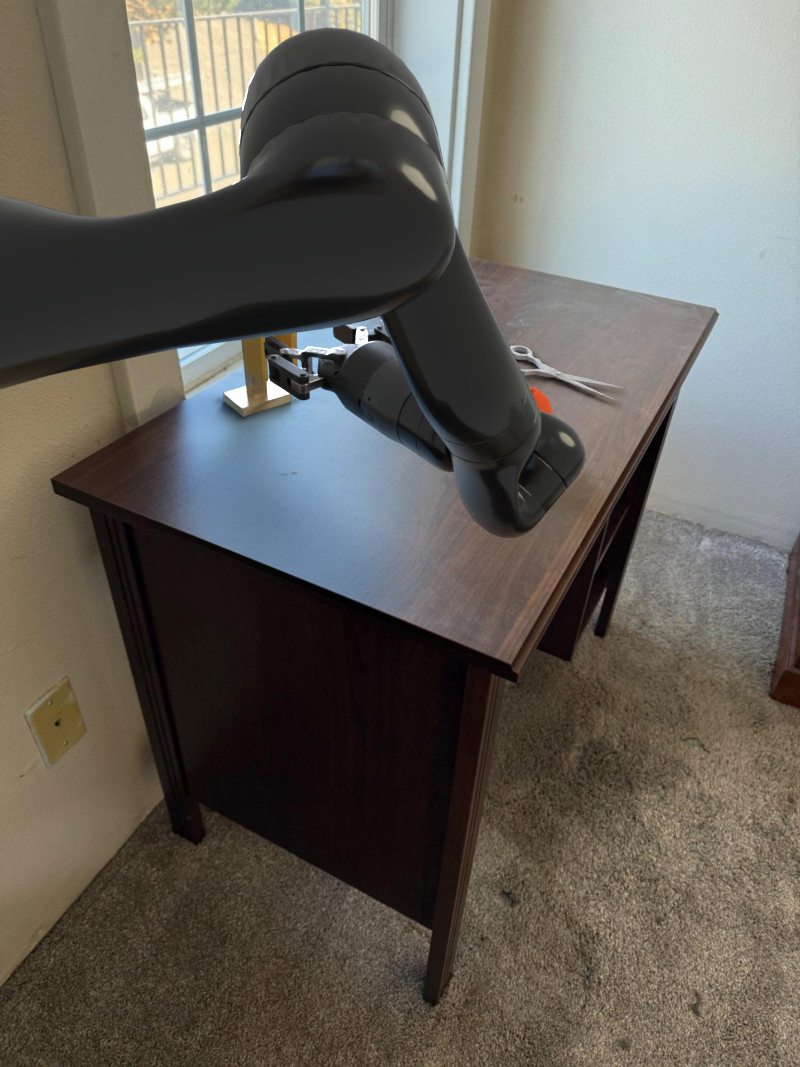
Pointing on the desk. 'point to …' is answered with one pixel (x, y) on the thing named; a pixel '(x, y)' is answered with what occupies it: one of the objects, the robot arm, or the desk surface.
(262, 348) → the yellow goalpost frame
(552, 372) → the scissors
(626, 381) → the desk surface
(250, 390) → the rack
